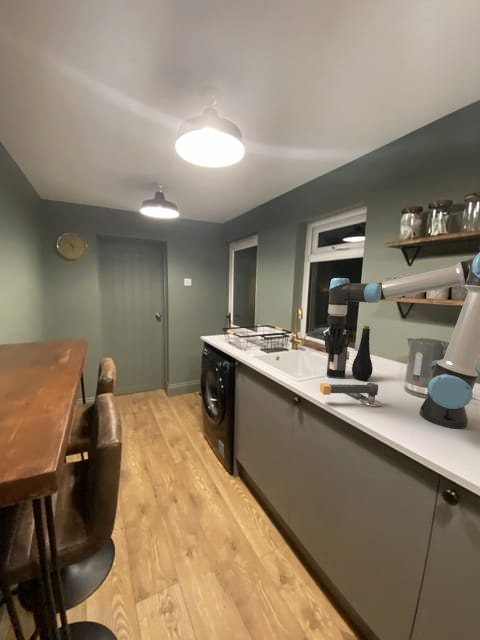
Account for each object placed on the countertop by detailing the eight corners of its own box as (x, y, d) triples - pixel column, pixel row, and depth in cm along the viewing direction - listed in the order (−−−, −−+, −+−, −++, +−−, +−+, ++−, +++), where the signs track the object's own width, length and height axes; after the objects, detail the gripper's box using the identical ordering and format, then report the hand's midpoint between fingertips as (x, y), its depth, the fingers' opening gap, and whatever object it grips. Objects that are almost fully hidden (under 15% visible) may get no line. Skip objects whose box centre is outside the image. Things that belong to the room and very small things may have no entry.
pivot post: (385, 406, 118) (386, 396, 117) (371, 408, 114) (372, 398, 114) (369, 398, 125) (370, 389, 124) (356, 400, 122) (357, 391, 121)
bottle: (347, 378, 154) (352, 325, 150) (355, 374, 161) (361, 324, 157) (366, 383, 146) (372, 328, 142) (374, 379, 153) (380, 326, 150)
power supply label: (366, 398, 125) (366, 396, 125) (356, 399, 123) (356, 398, 123) (353, 391, 133) (353, 390, 133) (343, 393, 130) (343, 391, 130)
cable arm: (373, 391, 122) (374, 382, 121) (379, 395, 117) (380, 386, 117) (319, 391, 118) (320, 382, 118) (323, 395, 114) (324, 386, 114)
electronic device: (342, 375, 157) (345, 341, 155) (345, 379, 152) (348, 343, 149) (325, 374, 158) (328, 340, 156) (328, 377, 152) (331, 342, 150)
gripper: (342, 314, 122) (338, 365, 125) (319, 314, 117) (315, 367, 120) (355, 315, 115) (351, 370, 118) (331, 315, 110) (327, 372, 113)
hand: (333, 368), depth 119 cm, fingers closed
